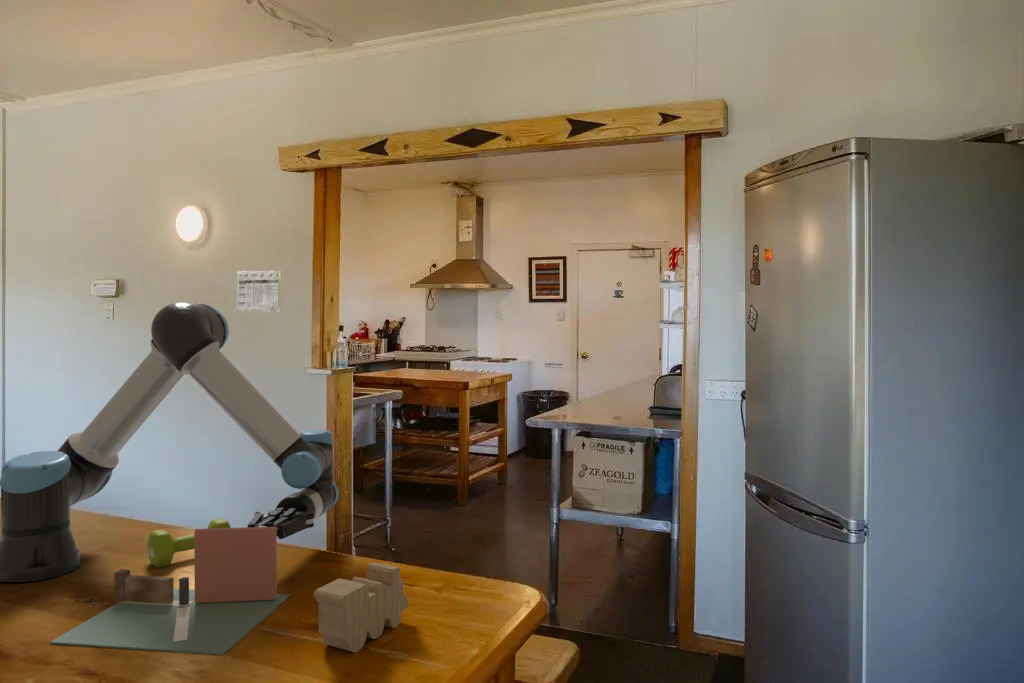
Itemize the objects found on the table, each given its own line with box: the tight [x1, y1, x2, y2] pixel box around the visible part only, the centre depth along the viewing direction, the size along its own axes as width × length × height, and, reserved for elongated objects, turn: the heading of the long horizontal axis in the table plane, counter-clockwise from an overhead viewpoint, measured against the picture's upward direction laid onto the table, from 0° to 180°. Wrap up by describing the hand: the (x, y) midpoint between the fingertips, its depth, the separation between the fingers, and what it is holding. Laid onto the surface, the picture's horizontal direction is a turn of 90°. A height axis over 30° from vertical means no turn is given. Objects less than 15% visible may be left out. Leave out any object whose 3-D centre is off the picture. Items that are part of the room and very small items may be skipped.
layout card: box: [49, 587, 291, 656], centre depth 121 cm, size 29×24×1 cm
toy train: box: [313, 561, 409, 653], centre depth 114 cm, size 6×17×10 cm, turn 152°
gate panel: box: [193, 526, 278, 603], centre depth 127 cm, size 14×1×13 cm, turn 97°
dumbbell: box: [146, 518, 232, 568], centre depth 152 cm, size 16×8×7 cm, turn 135°
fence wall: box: [113, 569, 190, 605], centre depth 127 cm, size 14×2×6 cm, turn 83°
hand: (246, 543), depth 128 cm, fingers closed
